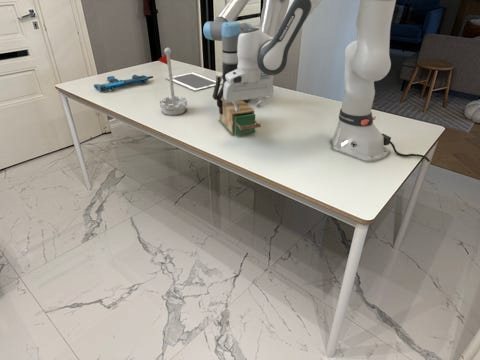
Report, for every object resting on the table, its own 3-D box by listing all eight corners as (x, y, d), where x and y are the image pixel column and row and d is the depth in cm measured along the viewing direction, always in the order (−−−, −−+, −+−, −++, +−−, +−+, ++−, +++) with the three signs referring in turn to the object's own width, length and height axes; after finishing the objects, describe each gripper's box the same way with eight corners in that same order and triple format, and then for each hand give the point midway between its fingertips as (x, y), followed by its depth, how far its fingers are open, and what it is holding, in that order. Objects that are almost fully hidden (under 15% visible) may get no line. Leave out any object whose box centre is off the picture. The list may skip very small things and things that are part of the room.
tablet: (166, 78, 215) (166, 78, 215) (192, 72, 226) (192, 72, 226) (195, 91, 195) (194, 90, 195) (222, 83, 206) (222, 83, 206)
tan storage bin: (253, 131, 149) (254, 110, 144) (232, 135, 146) (232, 113, 141) (239, 117, 163) (239, 97, 157) (219, 120, 160) (218, 100, 154)
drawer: (260, 137, 142) (261, 119, 138) (240, 141, 140) (240, 123, 135) (241, 118, 159) (241, 102, 155) (223, 121, 157) (222, 104, 152)
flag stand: (184, 104, 177) (178, 43, 160) (190, 113, 167) (184, 49, 150) (159, 107, 173) (150, 46, 156) (163, 117, 163) (155, 52, 146)
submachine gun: (139, 69, 223) (157, 75, 206) (140, 75, 225) (158, 81, 208) (86, 79, 204) (101, 87, 188) (88, 85, 206) (103, 94, 190)
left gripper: (252, 57, 150) (251, 105, 162) (203, 62, 143) (206, 112, 155) (259, 61, 144) (258, 111, 156) (208, 67, 137) (211, 118, 149)
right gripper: (270, 69, 135) (268, 103, 142) (221, 75, 128) (222, 109, 136) (277, 73, 130) (275, 108, 137) (226, 79, 123) (227, 115, 131)
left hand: (232, 111), depth 156 cm, fingers closed on tan storage bin, 10 cm apart
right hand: (248, 109), depth 136 cm, fingers open, 8 cm apart
